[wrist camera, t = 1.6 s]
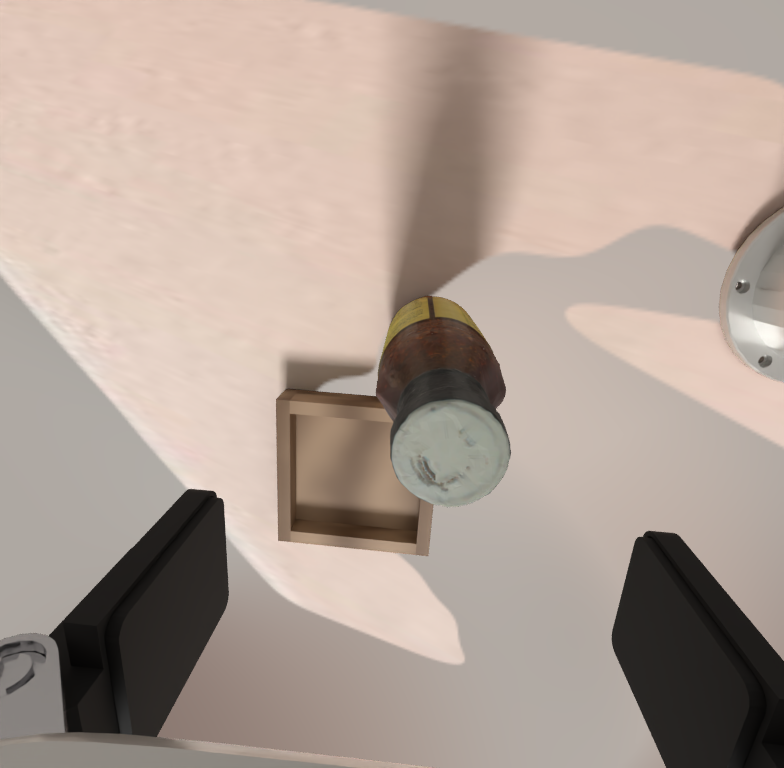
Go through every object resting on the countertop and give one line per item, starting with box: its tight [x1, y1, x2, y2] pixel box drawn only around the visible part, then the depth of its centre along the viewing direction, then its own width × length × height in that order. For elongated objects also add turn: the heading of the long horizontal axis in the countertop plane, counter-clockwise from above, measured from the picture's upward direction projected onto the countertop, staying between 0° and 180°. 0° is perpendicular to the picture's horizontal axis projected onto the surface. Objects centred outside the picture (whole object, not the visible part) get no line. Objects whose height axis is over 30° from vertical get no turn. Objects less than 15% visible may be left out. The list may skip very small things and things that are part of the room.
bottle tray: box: [276, 389, 433, 556], centre depth 37 cm, size 12×12×2 cm
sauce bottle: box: [376, 296, 511, 507], centre depth 25 cm, size 7×6×20 cm
